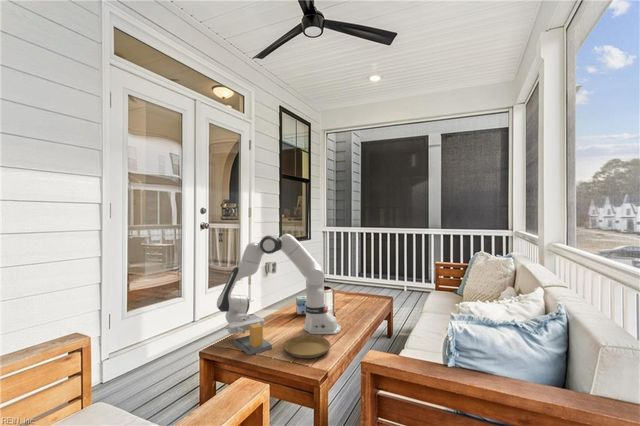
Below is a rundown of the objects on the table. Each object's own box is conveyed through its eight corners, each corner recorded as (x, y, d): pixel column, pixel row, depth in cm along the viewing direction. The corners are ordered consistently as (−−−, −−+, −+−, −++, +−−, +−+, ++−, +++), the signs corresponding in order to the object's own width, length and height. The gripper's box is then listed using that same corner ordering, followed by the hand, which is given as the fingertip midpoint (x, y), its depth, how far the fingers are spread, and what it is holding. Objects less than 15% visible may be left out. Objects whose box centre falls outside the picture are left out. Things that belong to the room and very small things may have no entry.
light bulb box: (297, 314, 222) (297, 299, 222) (295, 311, 229) (295, 296, 228) (312, 313, 225) (312, 297, 225) (310, 310, 231) (310, 295, 231)
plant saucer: (296, 338, 182) (296, 332, 182) (336, 344, 173) (336, 338, 173) (275, 356, 159) (275, 350, 159) (320, 365, 151) (320, 358, 151)
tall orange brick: (258, 341, 172) (258, 323, 172) (262, 345, 168) (262, 325, 168) (249, 344, 169) (249, 325, 169) (253, 347, 165) (253, 328, 165)
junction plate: (234, 342, 176) (233, 328, 176) (255, 337, 184) (255, 323, 183) (248, 355, 161) (248, 339, 160) (271, 348, 168) (271, 333, 168)
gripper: (223, 320, 177) (233, 328, 166) (257, 313, 189) (268, 319, 178) (223, 332, 177) (233, 340, 166) (257, 324, 189) (268, 331, 178)
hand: (252, 329), depth 172 cm, fingers open, 8 cm apart
